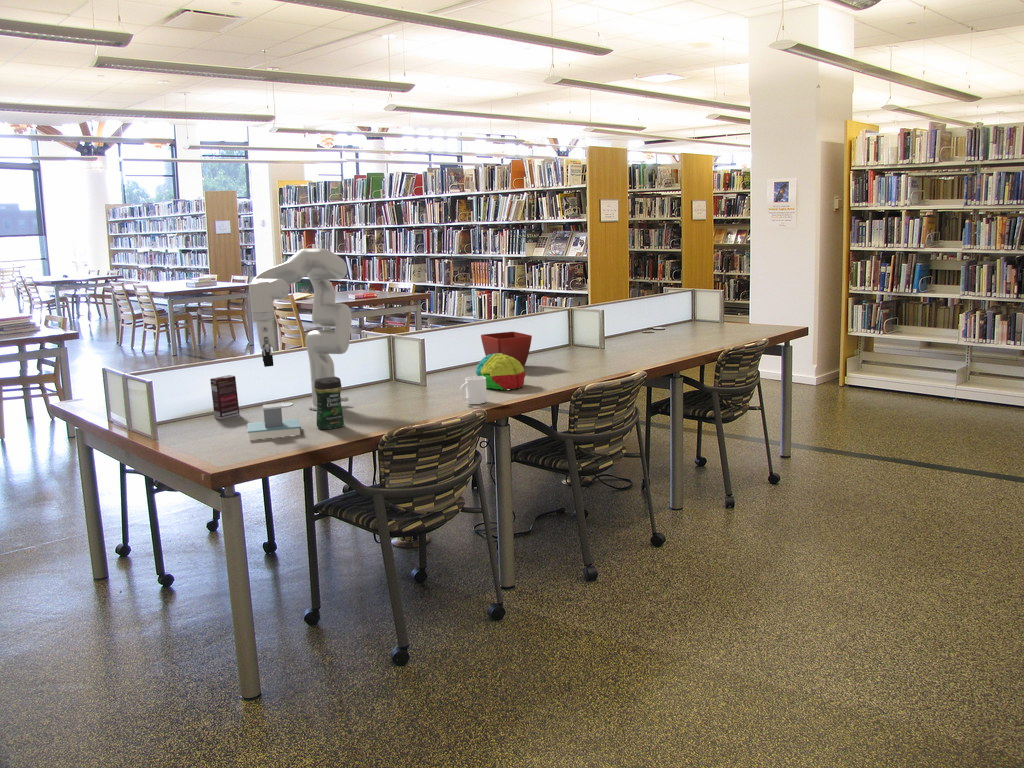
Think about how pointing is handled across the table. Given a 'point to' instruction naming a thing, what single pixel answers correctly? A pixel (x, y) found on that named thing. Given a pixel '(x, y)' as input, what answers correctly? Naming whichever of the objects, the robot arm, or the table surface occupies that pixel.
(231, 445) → the table surface
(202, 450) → the table surface
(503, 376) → the brain model
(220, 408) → the supplement box
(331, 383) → the coffee jar
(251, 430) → the book
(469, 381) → the mug
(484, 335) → the plant pot
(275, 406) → the card box
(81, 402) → the table surface
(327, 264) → the robot arm
